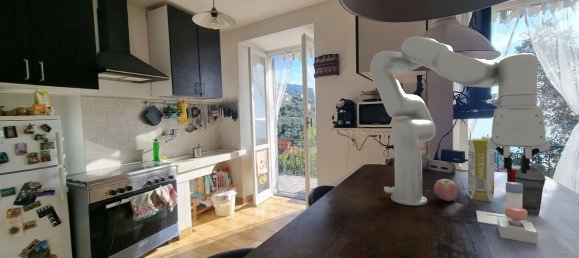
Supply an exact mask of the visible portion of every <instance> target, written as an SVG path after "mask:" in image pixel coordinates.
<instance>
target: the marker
mask: <svg viewBox="0 0 579 258" xmlns="http://www.w3.org/2000/svg"><path fill="white" fill-rule="evenodd" d="M522 193H523V184H521V183H516V182H507V181H505V207H509V206H510V207H518V208H522ZM506 218H507V219H512V218H509V217H507V216H506ZM520 221H522V220H520Z"/></svg>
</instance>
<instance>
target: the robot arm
mask: <svg viewBox="0 0 579 258" xmlns="http://www.w3.org/2000/svg"><path fill="white" fill-rule="evenodd" d="M421 67H425V68H428V69H430V70H432V71H434V73H436V74H437V75H439V76H440V77H442V78H444V79H447V80H449V81H452V82H454V83H456V84H458V85H462V86H464V87H471V88H473V87H474V88H475V87H476V88H493V87H497V86H498V89H497V90H498V94H497V95H498V96H497V98H495V99H491V103H490V104H491V105H495V106H497V108H494V112H493V118H492V125H491V136H490V140H489V142H488V143H487V145H486V146H487V147H488V148H491V149H493V150H494V151H497V152H498V153H499V154H500V155H501V156H503V169H505V170H506V173H507V172H508V173H511V172H512V166H513V158H512V157H511V156H512V155H510V153H511V152H510V151H511V150H510V149H511V147H521V148H522V150H523V151H522V155H521V157H520V166H521V172H522V173H523V174H526V173H527V170H530V166H531V165H530V164H531V163H530V161H531V159H532V158H533V157H534V156H535V155H537V154H538V153H541V152H542V153H543V152H545V151H549V150H550V149H551V146H550V144H549V143H548V141H547V140H546V127H545V117H544V113H543V109H542V107H541V106H540V107H538V106H537V105H538V102H537V101H538V57H537V55H536V54H534V53H528V52H527V53H525V52H524V53H516V54H511V55H507V56H504V57H502V58H500V59H499V60H489V59H488V60H487V59H479V58H473V57H471V56H468V55H466V54H465V55H464V54H461V53H458V52H456V51H453V48H452V46H451V45H448V44H445V43H442V42H441V43H440V42H438V41H437V40H436V39H434V38H431V37H425V36H418V35H417V36H411V37H408V38H407V39H405V40H404V41H403V43H402V45H401V48H400V51H393V50H383V51H379V52H377V53H376V54H375V55H374V56H373V57H372V59H371V62H370V67H369V73H370V77H371V80H372V82H373V84H374V86H375V87H376V89H377V91H378V94H379V96H380V99H381V101H382V104H383V106H384V108H385V111H386V113H387V114H388V116H389V117H390V118H392V119H399V120H396V121H395V122H394V124H392V127H391V130H390V131H391V138H392V143H393V144H392V145H393V150H394V152H393V153H394V186H392V187H390V186H384V187H383V191H384V192H385V193H386V194H391V195H390V199H391V200H392V202H394V203H397V204H401V205H404V206H405V205H406V206H423V205H426V204H427V203H428V199H427V197H426V196H423V156H422V155H423V154H422V151H421V148H420V145H419V143H425V142H428V141H431V140H433V139H434V137H435V136H436V132H437V131H436V130H437V129H436V128H437V127H436V125H435V124H436V123H435V122H434V120H433V118H432V116H431V114H430V111H429V110H428V108H427V105H426V103H425V101H424V100H423V99H422V98H421V97H420V96H418V95H417V94H416V95H415V94H411V93H410V94H407V93H405V92H404V90H403V88H402V86H401V84H400V82H399V81H398V79H397V78H396V77H395V76H394V75H393V74H400V75H401V74H407V73H410V72H412V71H414V70H417V69H419V68H421Z"/></svg>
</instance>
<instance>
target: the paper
mask: <svg viewBox="0 0 579 258" xmlns="http://www.w3.org/2000/svg"><path fill="white" fill-rule="evenodd" d="M475 211H476V212H475V213H476V219H477V220H476V221H477V223H480V224H487V225H492V226H497V217H501V218H506V216H505V214H504V213H495V212H488V211H481V210H475ZM522 221H527V220H522Z"/></svg>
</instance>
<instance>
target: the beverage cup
mask: <svg viewBox="0 0 579 258" xmlns="http://www.w3.org/2000/svg"><path fill="white" fill-rule="evenodd" d="M515 180H516V183H521V184H523V193H522V209H525V210H527V216H530V217H539V216H540V212H541V205H542V197H543V190H544V187H545V185H546V184H545V183H546V181H547V180H546V176H545V173H544V172H543V171H542V169H540V168H539V167H537V166H535V165H530V170H527V173H526V174H523V173H522V172H521V167H520V168H519V169H518V170H517V171H516V174H515Z"/></svg>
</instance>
